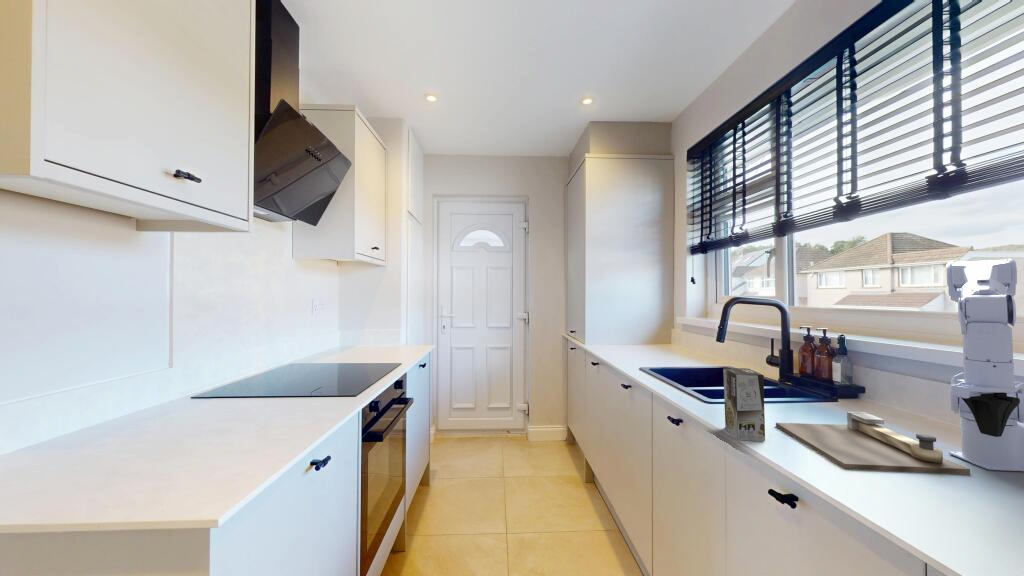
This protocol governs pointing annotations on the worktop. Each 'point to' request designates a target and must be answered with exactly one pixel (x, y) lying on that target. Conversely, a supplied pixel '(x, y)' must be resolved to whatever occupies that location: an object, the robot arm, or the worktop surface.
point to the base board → (862, 447)
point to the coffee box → (744, 404)
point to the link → (906, 442)
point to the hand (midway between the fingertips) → (990, 434)
